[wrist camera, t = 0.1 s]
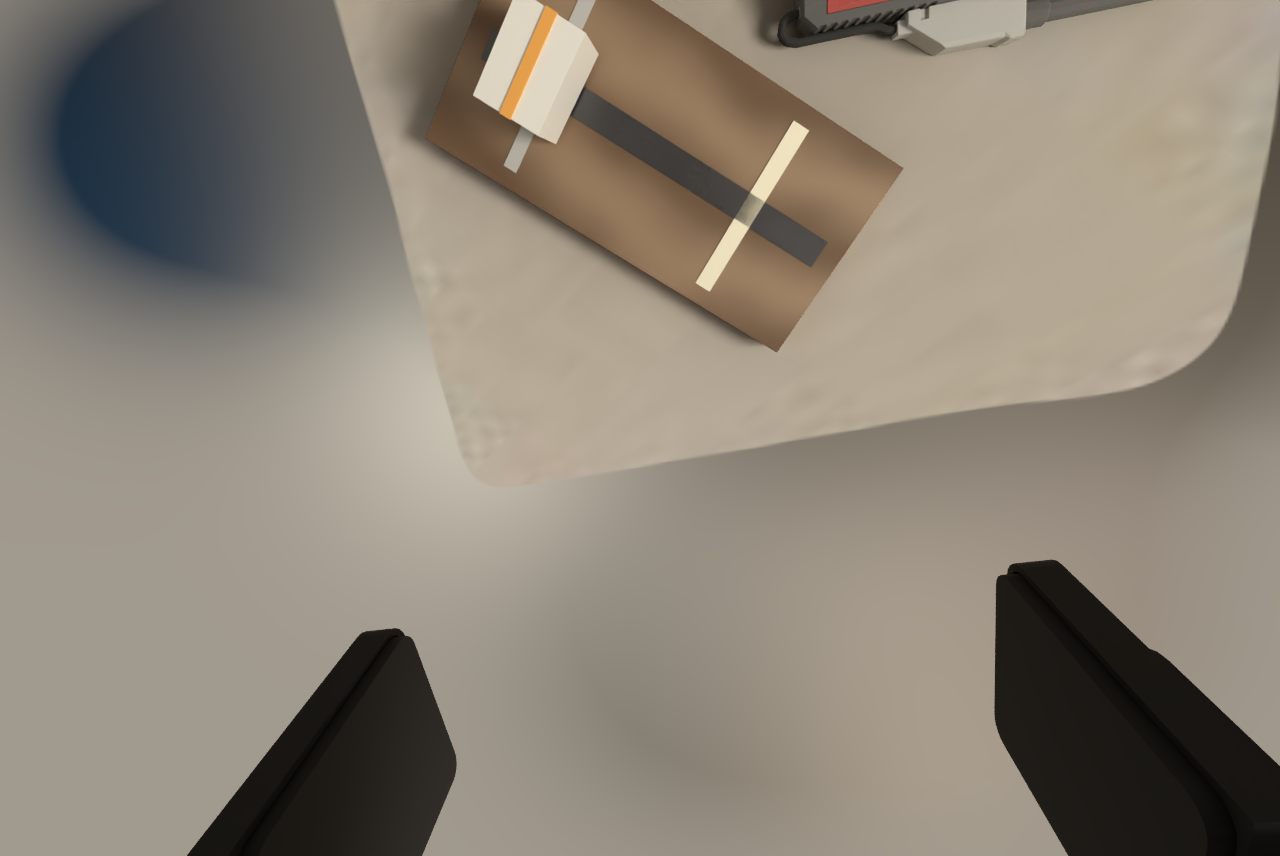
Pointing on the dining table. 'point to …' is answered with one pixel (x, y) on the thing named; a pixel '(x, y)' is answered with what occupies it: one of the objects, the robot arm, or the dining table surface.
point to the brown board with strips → (679, 163)
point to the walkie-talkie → (932, 20)
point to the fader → (536, 68)
